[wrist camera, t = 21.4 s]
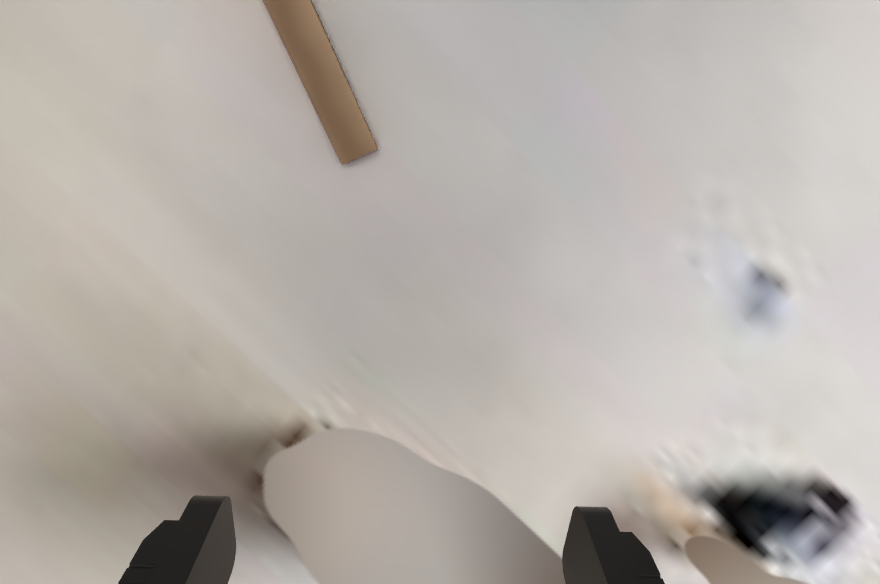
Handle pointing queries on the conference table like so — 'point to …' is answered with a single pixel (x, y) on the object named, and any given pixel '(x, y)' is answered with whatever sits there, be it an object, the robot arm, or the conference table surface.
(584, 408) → the conference table surface
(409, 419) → the conference table surface
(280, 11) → the mallet
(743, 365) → the conference table surface
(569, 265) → the conference table surface
